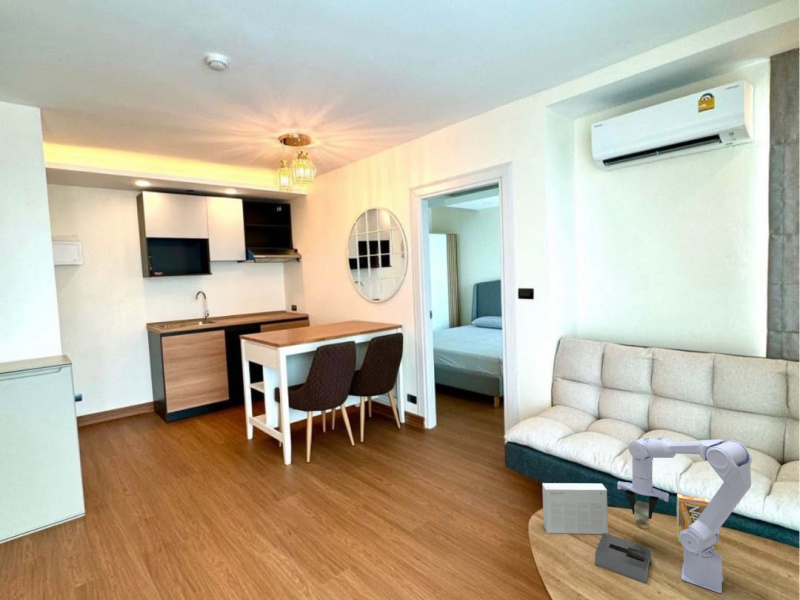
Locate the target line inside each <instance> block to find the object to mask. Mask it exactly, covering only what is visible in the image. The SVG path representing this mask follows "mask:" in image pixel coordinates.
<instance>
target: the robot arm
mask: <svg viewBox="0 0 800 600" xmlns="http://www.w3.org/2000/svg"><path fill="white" fill-rule="evenodd" d="M628 452H629V453H630V455H631V457H632V458H631V459H632V463H631V465H632V466H631V467H632V468H631V469H632V470H631V472H632V477H631V478H632V482H626V481H625V482H624V481H620V480H619V481H617V484H616V485H617V490H624V491H625V497H626V498H627V501H628V502H629V505H630V508H631V511H632V515H634V506H635V503H636V499H637V495H641V496H646V497H647V496H648V497H649V498H648V503H649V520H652V518H653V513H654V510H655V508H656V507H657V505H658V503H659V501H660V500H662V501H664V502H666V503H668V502H669V497H670V495H669V493H668V492H664V491H662V490H660V489H658V488H654V487H653V461H654V458H655V459H656V458H657V459H672V458H674V457H675V456H676V455H677V454H681V455H699V456H700V457H701V459H702V460H703V461H704V462H706V461H707V462H708V464H709V465H710V467H711V468H712V469H713V470H714V472H715V473H716V474H717V475H718V476H719V478H721V480H722V481H723V482H722V484H721V485H720V487H719V489H718V490H717V491H716V493H715V494H714V495H713V496H712V498H711V499H710V500H709V504H708V505H707V507H706V508H705V509H704V511H703V512H702V514H701V515H700V516H699V518H698V519H697V520H696V521H695V522H694V523H693V524H692V525H690V526H689V528H688V529H686V530H683V531H681V532H680V533H679V540H680V542H681V543H680V544H681V546H682V547H683V563H682V568H681V576H680V577H681V578H680V579H681V580H682V581H684V582H687V583H689V584H692V585H695V586H698V587H701V588H704V589H707V590H709V591H713V592H715V593H717V594H718V593H719V594H722V592H723V591H722V590H723V588H722V587H723V582H724V575H723V555H722V554H720V553H718V552H716V551H715V549H714V548H715V545H717V544H718V542H719V539H720V536H719V535H720V533H721V531H722V529H721V527H722V526H723V524H724V523H725V522H726V521H727V519H728V518H729V517H730V515H731V514H732V512H733V511H734V510H735V509H736V507H737V505H739V503H740V502H741V501H742V499H743V498H744V497H745V495H746V494H747V493H748V491H749V490H750V488H751V486H752V475H751V465H752V461H753V458H752V456H751V454H750V452H749V450H748V448H747V447H746V446H745V445H744V444H743V443H742V442H740V441H738V440H734V439H729V440H726V441H725V439H719V438H718V439H701V440H698V439H697V440H687V441H685V440H684V441H673V440H672V439H670V438H668V437H666V438H665V437H664V436H663V435H662V436H661V435H660V436H657V437H656V438H649V437H643V438H640V439H636V440H634V441H631V442H630V443H629V444H628Z"/></svg>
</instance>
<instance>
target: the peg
mask: <svg viewBox="0 0 800 600" xmlns="http://www.w3.org/2000/svg"><path fill="white" fill-rule="evenodd" d="M633 515H634V518H635V519H636V520H635V523H634V524H635V527H636V528H639V529H641V530H649V528H650V523H649V520H650V519H649V502H644V501H641V500H636V503H635V506H634V514H633Z"/></svg>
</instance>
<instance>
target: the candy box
mask: <svg viewBox="0 0 800 600" xmlns="http://www.w3.org/2000/svg"><path fill="white" fill-rule="evenodd" d="M709 502H710V500H709V498H706V497H698V496H693V495H686V494H680V493H677V495H676V538H677V541H678V543H679V544H681V542H680V540H679V533H680V532H681V531H683V530H686V529H688V528H689V526H690V525H692V524H693V523H694V522H695V521H696V520H697V519H698V518H699V516H700V515H701V514H702V512H703V511H704V509H705V508H706V507H707V505H708V504H709Z"/></svg>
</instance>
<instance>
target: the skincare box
mask: <svg viewBox="0 0 800 600" xmlns="http://www.w3.org/2000/svg"><path fill="white" fill-rule="evenodd" d="M542 512H543V513H542V515H543V518H542V519H543V527H544V529H545V532H546V534H567V535H569V534H575V535H576V534H577V535H579V534H580V535H582V534H583V535H603V533H606V534H609V525H608V517H609V513H608V489H607V488H606V487H605V485H604V484H603V483H588V482H587V483H579V482H578V483H577V482H575V483H574V482H573V483H570V482H567V483H566V482H565V483H564V482H561V483H560V482H559V483H557V482H553V483H552V482H551V483H550V482H548V483H547V482H542Z"/></svg>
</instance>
